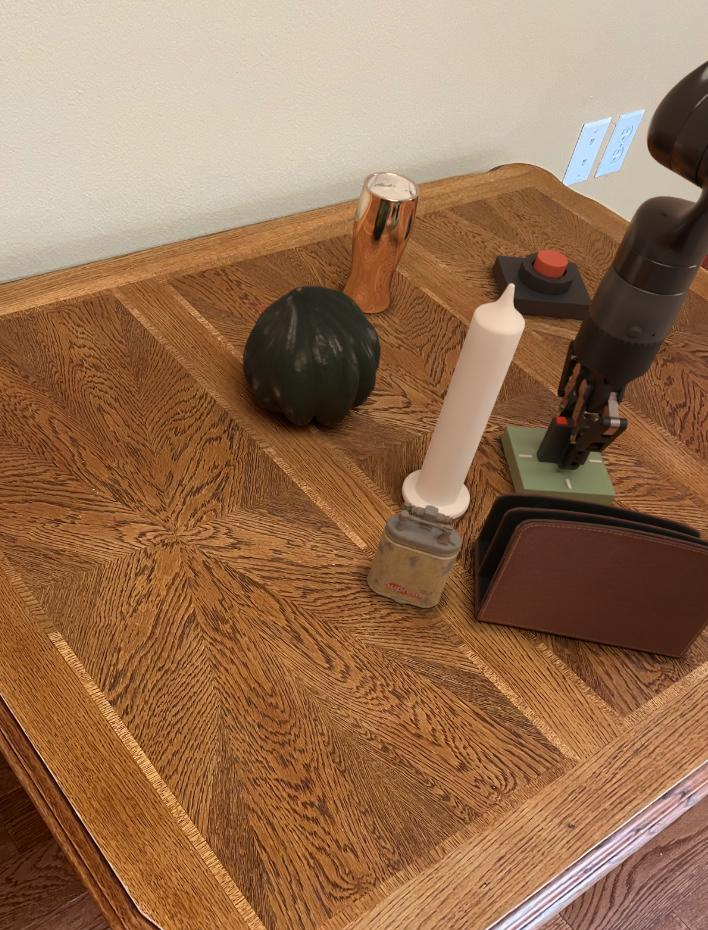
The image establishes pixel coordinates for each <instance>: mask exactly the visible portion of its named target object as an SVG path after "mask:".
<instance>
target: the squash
mask: <svg viewBox="0 0 708 930" xmlns="http://www.w3.org/2000/svg"><path fill="white" fill-rule="evenodd" d="M378 334H379V333H378V331H377V330H376V328H375V327H374V325H372V323H371V321H370V320H369V319H368V318H367V316H366V313H363V311H362V310H361V308H360V307H359V306H358V305H357V303H356V302H355V301H354V300H353V299H352V298H351V297H349V296H347V295H346V294H344V293H343V291H340V290H337V289H333V288H328V287H325V286H319V285H301V286H297V287H294V288H293V289H292V290H290V291H288V292H287V293H285V294H283V295H282V296H281V297H279V298H278V299H276V300H274V302H272V303H271V304H270V305H268V306H267V307H266V308H265V309H264V310H263V311H262V312H261V314H260V315H259V316H258V318H257V320H256V322H255V324H254V326H253V327H252V328H251V331H250V333H249V335H248V337H247V339H246V342H245V345H244V349H243V355H242V371H243V375H244V380H245V382H246V384H247V385H248V386H249V387H250V388H251V389H252V391H253V395H254V398H255V400H256V401H257V403H258V404H259V405H260V406H261V407H262V408H264V410H265V409H266V410H268V411H271V412H273V413H283V414H284V415H285V417H286V418H287V420H288V421H290V422H291V423H293V424H295V425H296V426H305V425H307V424H308V423H310V422H311V421H312V420H313V419H314V418H315V419H316V421H317V422H319V423H320V424H322V425H324V426H334V425H337V424H339V423H341V422H342V421H343V420H344V419H345V417H346V416H347V415H348V413H349V412H350V410H351V409H355V408H358V407H361V406H362V405H363V404H364V403H365V402H366V401H368V398H369V396H370V394H371V393H372V392H373V391H374V390H375V388H376V382H377V381H376V380H377V371H378V369H379V365H380V359H381V354H382V353H381V352H382V348H381V343H380V340H379V339H380V338H379V335H378Z"/></svg>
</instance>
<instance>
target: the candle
mask: <svg viewBox="0 0 708 930" xmlns="http://www.w3.org/2000/svg"><path fill="white" fill-rule="evenodd" d="M514 289H515V285H514V284H512V283H511V284H509V285H508V287H507V288H506V290H505V291H504V293H503V294H502V296H501V295H500V297H499V298H498V299H497V300H496V301H494V302H492V301H491V302H487V303H483V304H481V305H479V306H478V307H477V308H476V309H475V310H474V312H473V314H472V318H471V320H470V324H469V327H468V330H467V332H466V335H465V338H464V341H463V345H462V347H461V350H460V353H459V356H458V358H457V362H456V365H455V367H454V371H453V374H452V377H451V380H450V383H449V386H448V389H447V392H446V394H445V397H444V401H443V404H442V406H441V409H440V412H439V415H438V418H437V421H436V424H435V427H434V430H433V433H432V436H431V439H430V442H429V445H428V448H427V451H426V454H425V457H424V460H423V463H422V466H421V468H420V469H416V470H414V471H412V472H411V473H408V475H407V476H406V477H405V478H404V480H403V483H402V486H401V495H402V498H403V500H404V502H409V503H411V505H412V506H413V505H415V506H416V507H422V508H425V507H426V506H427V505H431V506H434V507H436V508H438V513H442V514H445V515H446V516H447V515H448V516H450V518H451V517H453V519H452V520H455V519H458V518H459V517H461V516H463V515H464V514H465V513H466V511H467V510H468V508H469V505H470V501H471V496H470V495H471V494H470V492H469V489H468V487H467V486H466V484H464V483H465V481H466V478H467V476H468V474H469V471H470V469H471V465H472V463H473V460H474V458H475V455H476V452H477V450H478V448H479V446H480V442H481V440H482V437H483V436H484V433H485V430H486V427H487V425H488V422H489V419H490V417H491V414H492V412H493V409H494V407H495V404H496V401H497V400H498V397H499V394H500V392H501V389H502V386H503V384H504V381H505V379H506V376H507V374H508V371H509V369H510V366H511V363H512V362H513V361H512V360H513V358H514V356H515V353H516V351H517V348H518V346H519V343H520V340H521V338H522V335H523V332H524V330H525V327H526V322H525V319H524V316H523V314H520V313H519V312H518V311H517V310H516V309H515V308H514V304H513V298H514Z"/></svg>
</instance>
